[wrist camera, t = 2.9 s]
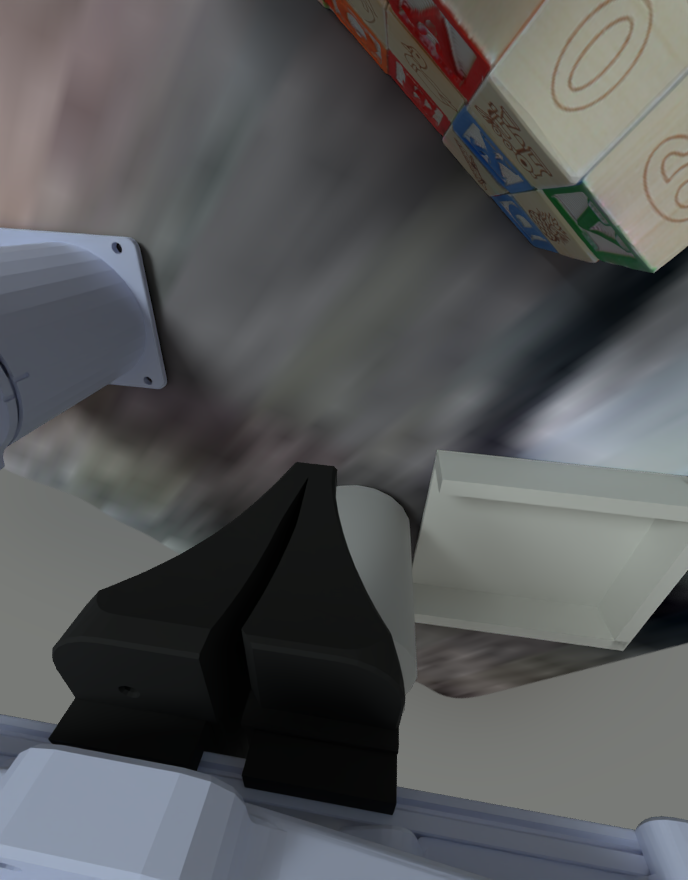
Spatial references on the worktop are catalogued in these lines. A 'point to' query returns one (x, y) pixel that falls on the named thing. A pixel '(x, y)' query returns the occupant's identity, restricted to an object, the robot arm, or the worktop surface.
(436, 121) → the stack of blocks
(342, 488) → the can
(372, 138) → the worktop surface
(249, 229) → the worktop surface
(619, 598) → the tray
